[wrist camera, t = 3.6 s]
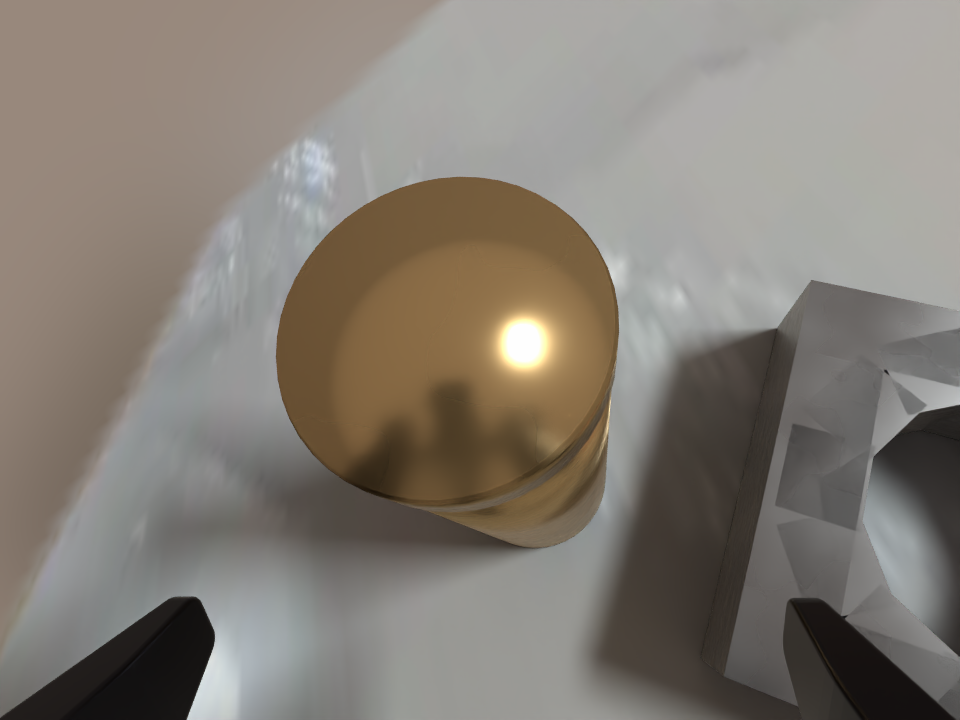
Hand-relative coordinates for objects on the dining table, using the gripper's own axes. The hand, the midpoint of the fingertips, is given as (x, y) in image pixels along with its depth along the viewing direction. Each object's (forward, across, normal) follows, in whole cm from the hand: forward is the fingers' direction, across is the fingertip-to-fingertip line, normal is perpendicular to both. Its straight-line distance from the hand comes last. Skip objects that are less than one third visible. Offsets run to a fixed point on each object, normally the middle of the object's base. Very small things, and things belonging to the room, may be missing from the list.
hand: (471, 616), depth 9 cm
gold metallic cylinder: (+10, 0, +5) cm, 11 cm away
